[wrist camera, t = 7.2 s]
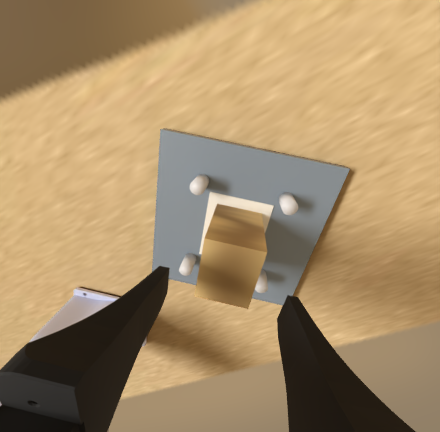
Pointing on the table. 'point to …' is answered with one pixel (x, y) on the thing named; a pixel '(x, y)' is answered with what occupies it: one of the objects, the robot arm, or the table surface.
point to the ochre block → (231, 256)
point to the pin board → (241, 205)
